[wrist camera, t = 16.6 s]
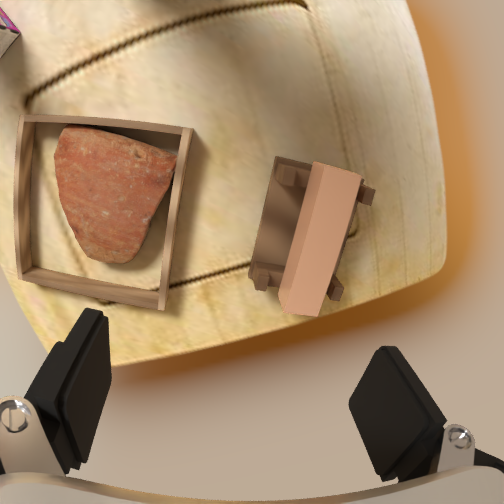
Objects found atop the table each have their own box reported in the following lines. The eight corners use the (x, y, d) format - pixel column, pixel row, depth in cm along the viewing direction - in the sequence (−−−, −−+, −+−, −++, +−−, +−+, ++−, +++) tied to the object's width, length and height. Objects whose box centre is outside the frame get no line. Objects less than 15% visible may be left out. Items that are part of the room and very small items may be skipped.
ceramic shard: (27, 241, 31) (62, 117, 28) (54, 233, 37) (87, 125, 34) (130, 289, 32) (176, 152, 29) (147, 274, 38) (187, 158, 36)
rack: (275, 156, 35) (283, 160, 30) (360, 178, 37) (379, 185, 32) (248, 274, 40) (251, 294, 36) (327, 286, 42) (339, 305, 37)
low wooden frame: (32, 114, 29) (19, 114, 27) (193, 128, 33) (190, 128, 30) (28, 269, 37) (18, 279, 34) (167, 298, 40) (164, 310, 38)
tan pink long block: (313, 161, 32) (325, 165, 28) (347, 170, 33) (362, 175, 29) (277, 294, 38) (283, 312, 34) (308, 298, 38) (317, 316, 35)
